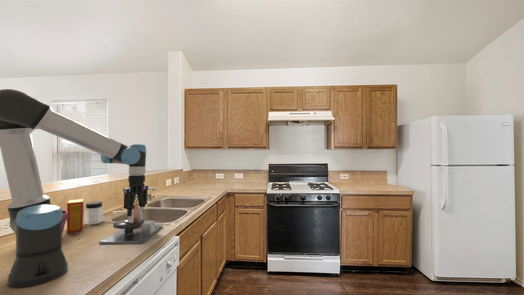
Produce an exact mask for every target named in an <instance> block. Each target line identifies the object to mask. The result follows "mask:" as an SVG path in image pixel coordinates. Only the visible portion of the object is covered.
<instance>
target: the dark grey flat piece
mask: <svg viewBox="0 0 524 295" xmlns="http://www.w3.org/2000/svg"><path fill="white" fill-rule="evenodd" d="M155 222H156V221H155V220H146V221H144V223H143V224H142V228H138V229H134V230H133V232H132V233H125V229H118V230H117V231H115V232H114V233H111V234H110V235H108V236H107V237H105V238H103V239H102V240H100V241H98V244H99V245H125V244H126V245H129V244H130V245H133V244H134V245H139V244H141V245H142V244H144V243H145V242H147V241H148V240H149V239H150V238H151V237H152V236H154V235H155V234H156V233H157V232H159V231H160V230H161V229H162V228H163V225H162V224H161V225H155V224H156V223H155Z"/></svg>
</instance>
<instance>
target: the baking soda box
mask: <svg viewBox="0 0 524 295" xmlns="http://www.w3.org/2000/svg"><path fill="white" fill-rule="evenodd" d="M66 209H67V210H66V211H68V219H67V220H66V233H74V232H75V231H76V232H81V231H83V230H84V227H85V226H84V225H85V198H79V199H69V200H68V201H67V205H66ZM83 226H84V227H83ZM76 232H75V233H76Z"/></svg>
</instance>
